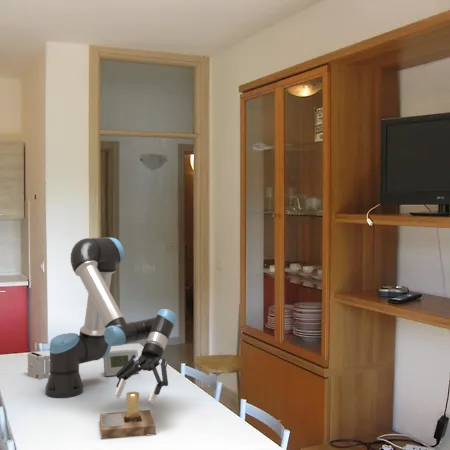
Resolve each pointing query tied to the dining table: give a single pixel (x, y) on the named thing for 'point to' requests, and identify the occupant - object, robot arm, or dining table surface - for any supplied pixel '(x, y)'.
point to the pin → (132, 407)
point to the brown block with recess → (126, 425)
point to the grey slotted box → (38, 365)
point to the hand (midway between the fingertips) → (133, 399)
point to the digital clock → (117, 361)
